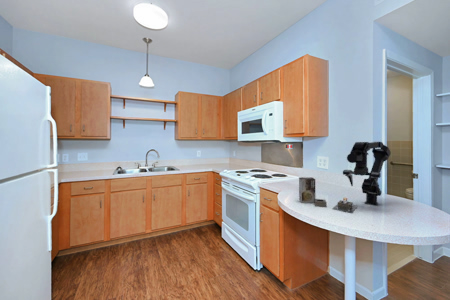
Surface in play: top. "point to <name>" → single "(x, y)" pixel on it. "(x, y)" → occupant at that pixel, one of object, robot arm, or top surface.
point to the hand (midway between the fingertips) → (360, 187)
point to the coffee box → (306, 189)
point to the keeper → (345, 209)
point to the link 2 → (345, 205)
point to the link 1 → (320, 203)
